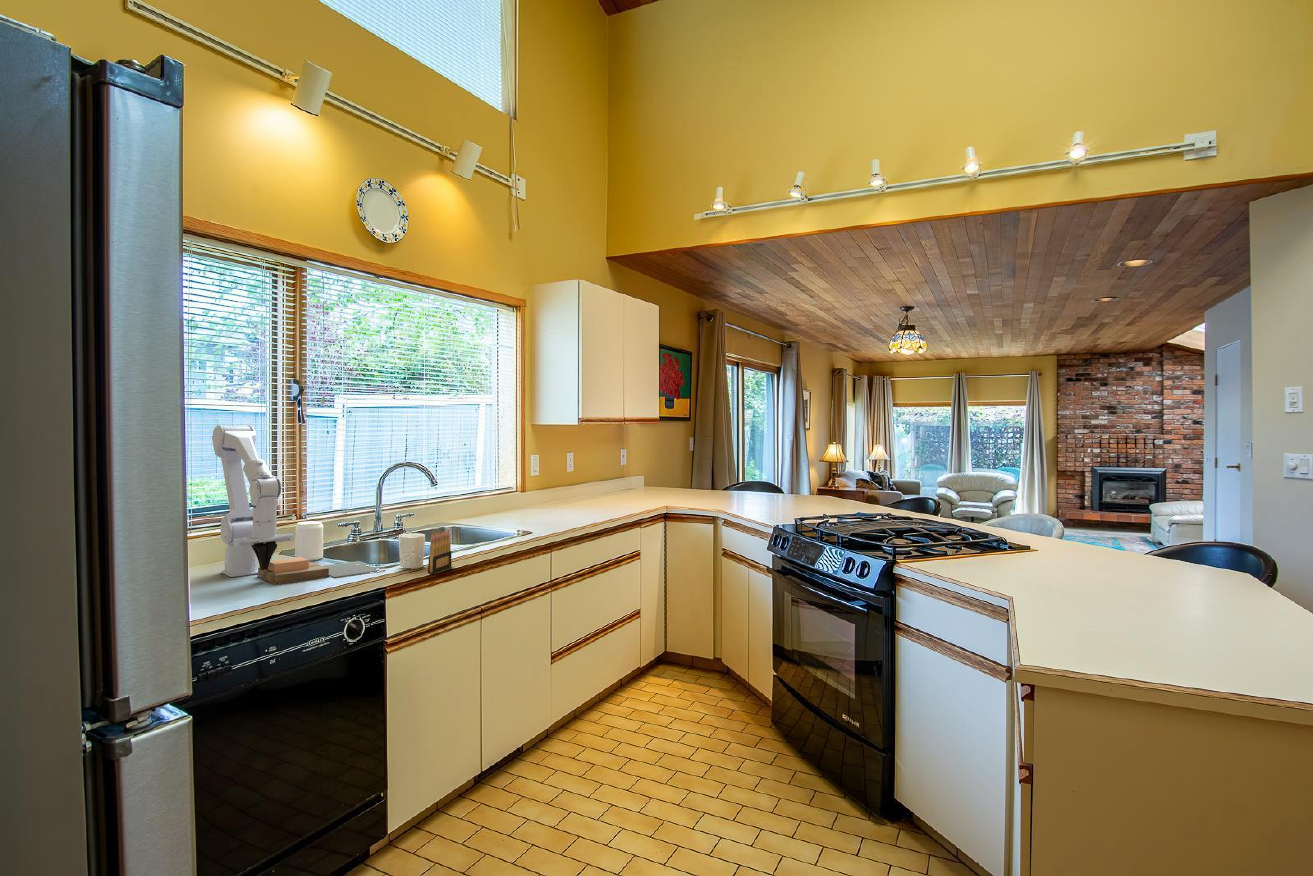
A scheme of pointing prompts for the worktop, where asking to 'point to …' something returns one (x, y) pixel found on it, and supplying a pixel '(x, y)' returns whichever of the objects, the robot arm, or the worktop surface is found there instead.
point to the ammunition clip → (439, 552)
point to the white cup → (411, 550)
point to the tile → (288, 564)
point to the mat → (349, 569)
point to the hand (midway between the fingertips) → (263, 569)
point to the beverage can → (309, 540)
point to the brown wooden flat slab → (295, 574)
